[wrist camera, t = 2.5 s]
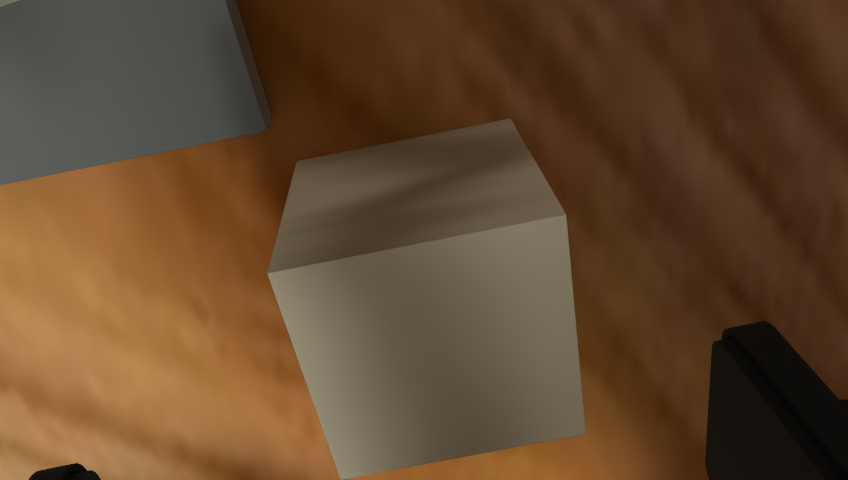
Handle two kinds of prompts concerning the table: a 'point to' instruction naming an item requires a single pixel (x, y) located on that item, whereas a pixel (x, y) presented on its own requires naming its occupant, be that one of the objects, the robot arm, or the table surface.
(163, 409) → the table surface
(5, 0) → the tower base
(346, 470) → the birch cube
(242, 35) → the trivet
